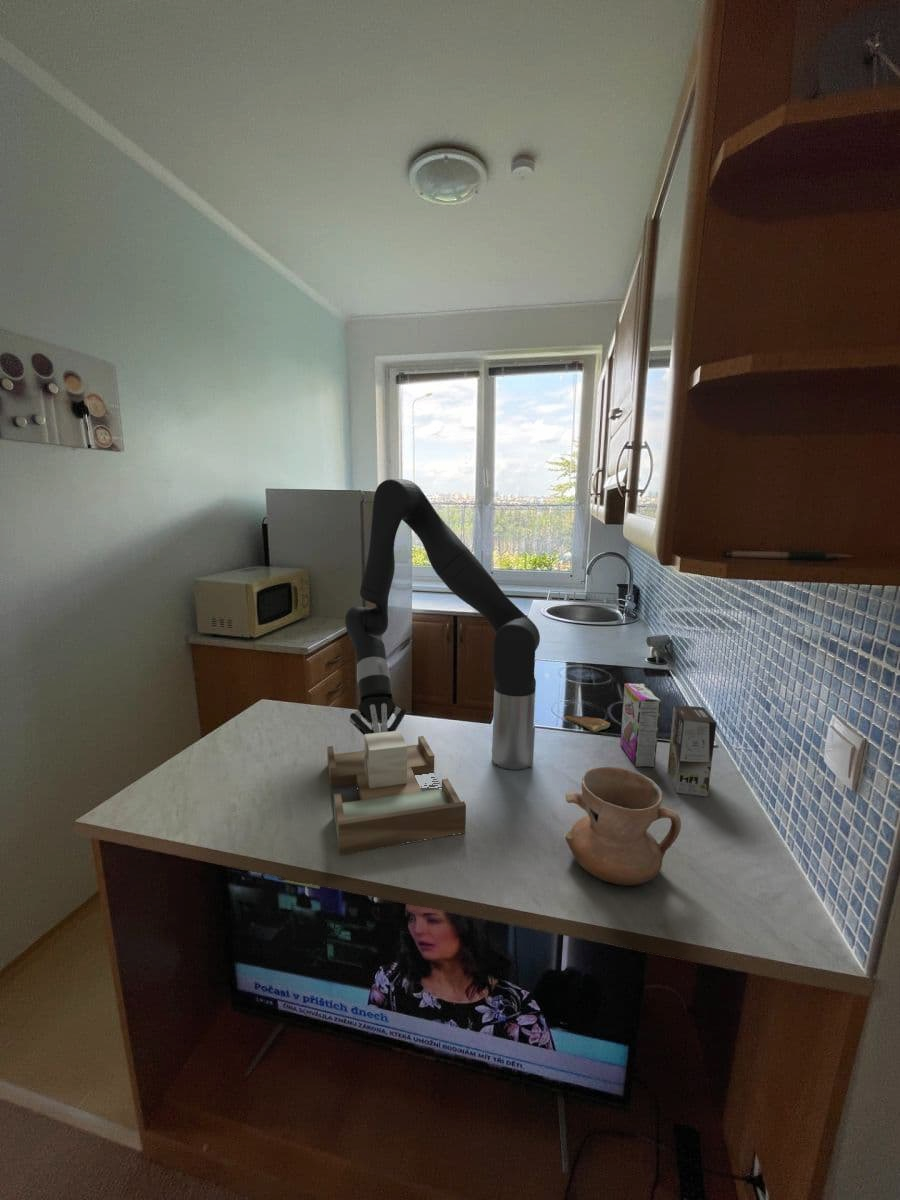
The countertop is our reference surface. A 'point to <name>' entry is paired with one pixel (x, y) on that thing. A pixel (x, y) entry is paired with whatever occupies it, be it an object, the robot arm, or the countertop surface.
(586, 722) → the shard
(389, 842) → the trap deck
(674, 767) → the coffee box
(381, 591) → the robot arm
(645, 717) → the candy bar box
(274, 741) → the countertop surface
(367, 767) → the block
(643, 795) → the ceramic jug
